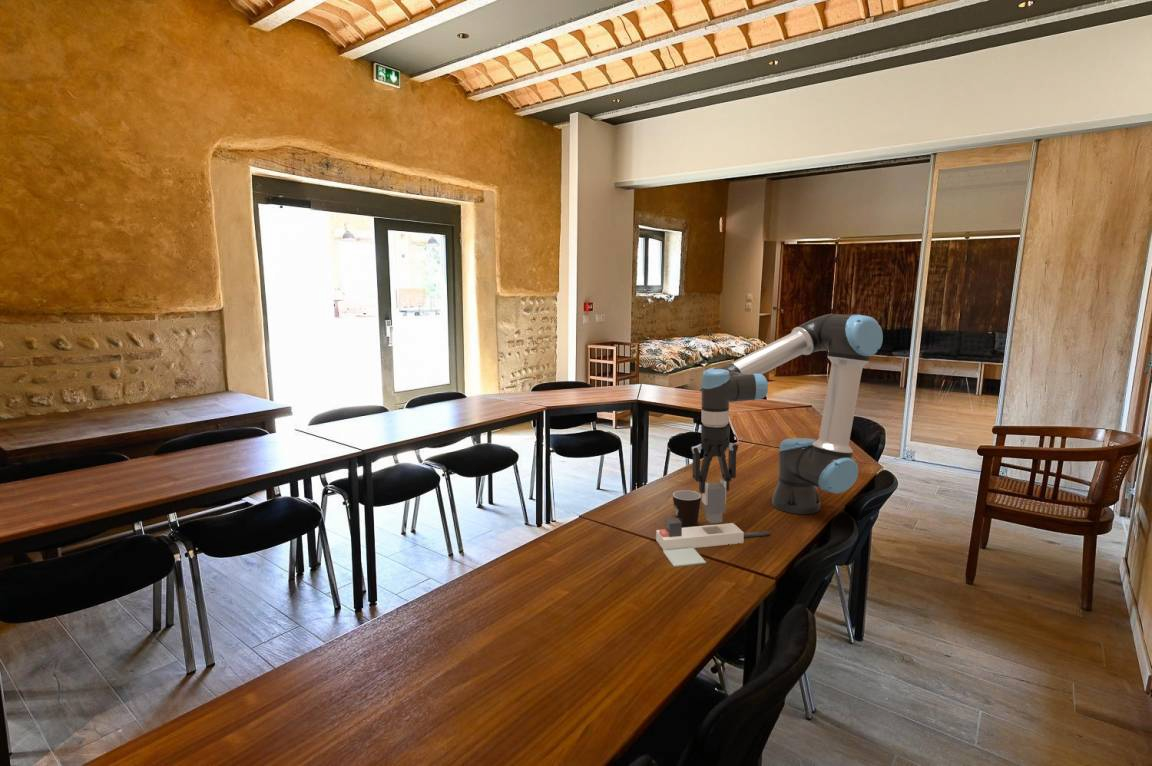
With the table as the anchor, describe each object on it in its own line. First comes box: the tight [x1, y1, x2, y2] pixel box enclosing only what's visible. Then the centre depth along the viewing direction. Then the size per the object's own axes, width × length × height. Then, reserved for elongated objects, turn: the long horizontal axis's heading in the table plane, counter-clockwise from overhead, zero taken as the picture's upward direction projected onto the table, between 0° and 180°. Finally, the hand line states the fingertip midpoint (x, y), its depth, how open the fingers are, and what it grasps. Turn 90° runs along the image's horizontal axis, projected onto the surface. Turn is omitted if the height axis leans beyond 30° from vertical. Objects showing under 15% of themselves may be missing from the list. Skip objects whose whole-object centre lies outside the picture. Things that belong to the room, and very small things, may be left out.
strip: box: [655, 517, 771, 551], centre depth 165 cm, size 34×7×7 cm, turn 100°
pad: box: [662, 548, 707, 568], centre depth 155 cm, size 9×9×1 cm
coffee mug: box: [672, 489, 702, 528], centre depth 177 cm, size 12×9×10 cm
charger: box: [702, 482, 726, 524], centre depth 164 cm, size 5×5×10 cm
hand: (713, 502), depth 164 cm, fingers closed on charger, 5 cm apart
